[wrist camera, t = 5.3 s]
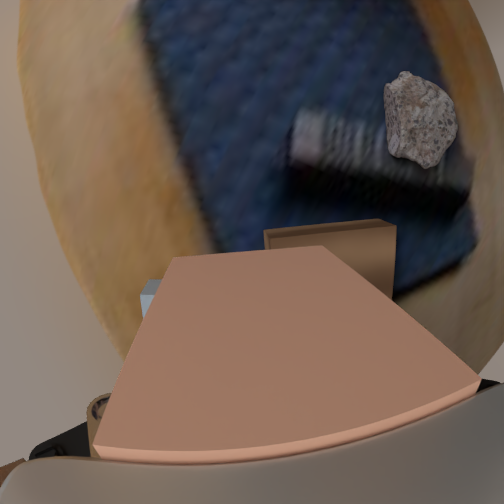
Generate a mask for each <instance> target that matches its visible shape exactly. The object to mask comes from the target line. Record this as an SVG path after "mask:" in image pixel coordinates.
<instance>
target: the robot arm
mask: <svg viewBox="0 0 504 504" xmlns="http://www.w3.org/2000/svg"><path fill="white" fill-rule="evenodd" d="M110 396H111V393H107V394H104V395H101V396H99V397H97V398H95V399H94V400H93V401H92V402H91V403H90V404H89V406H88V407H87V421H86V422H84V423H82V424H80V425H78V426H76V427H74V428H72V429H70V430H68V431H66V432H64V433H62V434H60V435H58V436H56V437H54V438H51V439H49V440H47V441H45V442H43V443H41V444H39V445H37V446H36V447H35V448H34V449H33V450H32V452H31V454H30V456H29V460H28V461H26V460H25V459H24V458H22V459H19V460H17V461H15V462H12V463H9V464H7V465H4V466H2V467H0V504H504V383H500V382H497V381H492V380H486V379H482V380H481V382H480V384H479V387H478V389H477V391H476V393H475V395H473V396H470V397H468V398H466V399H464V400H462V401H460V402H458V403H456V404H454V405H451V406H449V407H447V408H445V409H443V410H440V411H438V412H436V413H433V414H431V415H429V416H426V417H424V418H421V419H419V420H416V421H414V422H411V423H408V424H406V425H403V426H400V427H397V428H395V429H392V430H389V431H386V432H383V433H380V434H377V435H373V436H370V437H367V438H364V439H360V440H357V441H353V442H349V443H346V444H342V445H338V446H334V447H329V448H325V449H320V450H316V451H311V452H306V453H301V454H295V455H289V456H283V457H276V458H269V459H261V460H253V461H242V462H230V463H214V464H153V463H137V462H124V461H113V460H103V459H101V457H100V456H99V454H98V453H97V451H96V450H95V448H94V446H93V445H92V444H93V441H94V438H95V436H96V433H97V430H98V427H99V425H100V422H101V419H102V417H103V414H104V411H105V409H106V406H107V404H108V401H109V398H110Z"/></svg>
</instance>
